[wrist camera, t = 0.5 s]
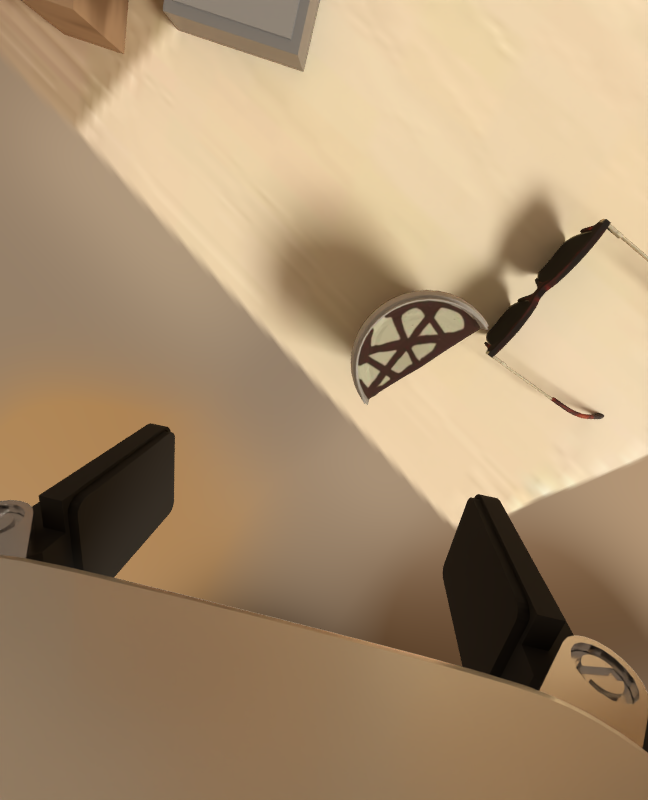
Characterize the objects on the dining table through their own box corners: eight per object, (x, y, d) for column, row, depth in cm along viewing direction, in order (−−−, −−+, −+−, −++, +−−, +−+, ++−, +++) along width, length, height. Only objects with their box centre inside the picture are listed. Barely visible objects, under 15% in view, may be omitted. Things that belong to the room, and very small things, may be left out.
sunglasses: (573, 223, 33) (609, 217, 28) (694, 320, 35) (745, 329, 30) (472, 344, 38) (488, 355, 33) (583, 423, 40) (613, 444, 35)
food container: (432, 261, 35) (453, 256, 26) (464, 312, 36) (494, 325, 27) (333, 333, 39) (320, 351, 30) (365, 377, 40) (361, 408, 31)
